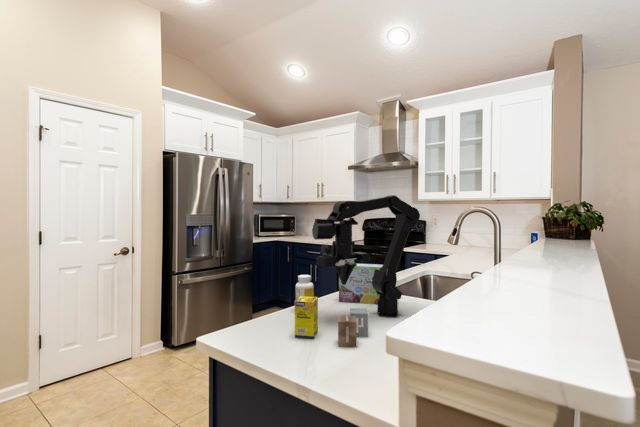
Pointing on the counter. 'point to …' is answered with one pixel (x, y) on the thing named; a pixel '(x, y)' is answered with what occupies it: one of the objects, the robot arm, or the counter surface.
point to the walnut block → (346, 331)
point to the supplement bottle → (304, 286)
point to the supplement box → (306, 317)
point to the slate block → (360, 321)
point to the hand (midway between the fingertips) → (343, 284)
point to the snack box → (360, 285)
